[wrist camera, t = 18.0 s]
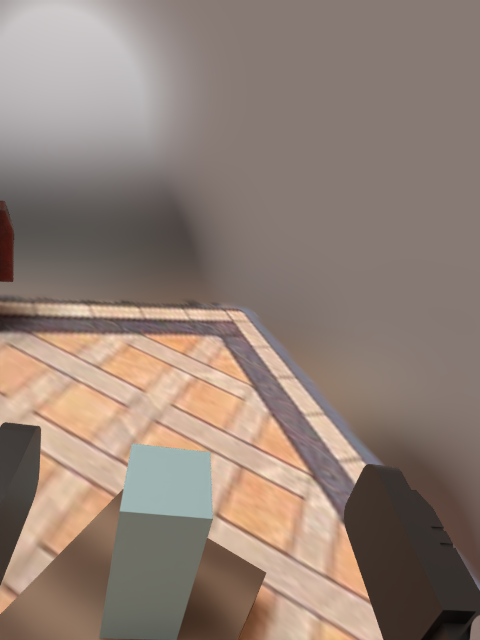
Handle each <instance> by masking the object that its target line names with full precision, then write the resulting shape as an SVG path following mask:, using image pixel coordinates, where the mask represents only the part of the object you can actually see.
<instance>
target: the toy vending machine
mask: <svg viewBox="0 0 480 640" xmlns="http://www.w3.org/2000/svg"><path fill="white" fill-rule="evenodd" d="M13 241H14V231H13V224H12V220H11V217H10V214H9V212H8V209H7V206H6V204H5V201H0V281H1V282H13V244H14V242H13Z"/></svg>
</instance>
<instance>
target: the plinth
mask: <svg viewBox="0 0 480 640" xmlns="http://www.w3.org/2000/svg"><path fill="white" fill-rule="evenodd" d="M123 490H124V489H123ZM123 490H122V491H121V492H120V493H119V494H118V495H117V496H116V497H115V498H114V499H113V500H112V501H111V502H110V503H109V504H108V505H107V506H106V507H105V508H104V509H103V510H102V511H101V512H100V513H99V514H98V515H97V516H96V517H95V518H94V519H93V520H92V521H91V522H90V524H89V525H88V526H87V527H86V528H85V529H84V530H83V531H82V532H81V533H80V534H79V535H78V536H77V537H76V538H75V539H74V540H73V541H72V542H71V543H70V544H69V545H68V546H67V547H66V548H65V549H64V550H63V551H62V552H61V553H60V554H59V555H58V556H57V557H56V558H55V559H54V560H53V561H52V562H51V563H50V564H49V565H48V566H47V567H46V568H45V569H44V571H43V572H42V573H41V574H40V575H39V576H38V577H37V578H36V579H35V580H34V581H33V582H32V583H31V584H30V585H29V586H28V587H27V588H26V589H25V590H24V591H23V592H22V593H21V594H20V595H19V596H18V597H17V598H16V599H15V600H14V601H13V602H12V603H11V604H10V605H9V606H8V607H7V608H6V609H5V610H4V611H3V612H2V613H1V614H0V640H146V639H114V638H99V636H100V629H101V623H102V617H103V611H104V605H105V598H106V592H107V586H108V580H109V574H110V567H111V561H112V555H113V549H114V542H115V536H116V530H117V524H118V518H119V511H120V506H121V500H122V495H123ZM265 575H266V572H264V571H262V570H261V569H259V568H257V567H256V566H254V565H252V564H250V563H249V562H247V561H245V560H244V559H242V558H240V557H239V556H237V555H235V554H234V553H232V552H230V551H229V550H227V549H225V548H224V547H222V546H220V545H219V544H217V543H215V542H214V541H212V540H210V539H208V538H207V540H206V543H205V547H204V550H203V553H202V557H201V560H200V563H199V567H198V570H197V573H196V577H195V580H194V583H193V587H192V590H191V593H190V597H189V600H188V603H187V607H186V610H185V613H184V617H183V620H182V623H181V627H180V630H179V633H178V637H177V640H238V638H239V636H240V634H241V631H242V629H243V627H244V624H245V622H246V620H247V618H248V615H249V613H250V611H251V608H252V606H253V604H254V601H255V599H256V597H257V594H258V592H259V589H260V587H261V584H262V582H263V580H264V577H265Z"/></svg>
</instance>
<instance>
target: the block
mask: <svg viewBox="0 0 480 640" xmlns="http://www.w3.org/2000/svg"><path fill="white" fill-rule="evenodd" d="M212 520H213V511H212V484H211V457H210V452H204V451H195V450H186V449H177V448H168V447H159V446H150V445H141V444H132V446H131V452H130V457H129V462H128V468H127V473H126V479H125V484H124V490H123V495H122V500H121V506H120V511H119V518H118V524H117V530H116V536H115V542H114V549H113V555H112V561H111V567H110V574H109V580H108V586H107V592H106V598H105V605H104V611H103V617H102V623H101V629H100V636H99V638H114V639H146V640H177V637H178V633H179V630H180V627H181V623H182V620H183V617H184V613H185V610H186V607H187V603H188V600H189V597H190V593H191V590H192V587H193V583H194V580H195V577H196V573H197V570H198V567H199V563H200V560H201V557H202V553H203V550H204V547H205V543H206V540H207V537H208V533H209V530H210V527H211V523H212Z"/></svg>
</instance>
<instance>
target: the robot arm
mask: <svg viewBox="0 0 480 640" xmlns="http://www.w3.org/2000/svg"><path fill="white" fill-rule="evenodd" d="M40 443H41V428H40V426H32V425H23V424H15V423H6V422H5V423H3V424H2V425H1V427H0V585H1V582H2V580H3V577H4V575H5V572H6V569H7V567H8V564H9V562H10V559H11V557H12V554H13V552H14V549H15V546H16V544H17V541H18V539H19V536H20V534H21V531H22V529H23V526H24V523H25V521H26V518H27V516H28V513H29V511H30V508H31V506H32V503H33V500H34V497H35V493H36V490H37V485H38V480H39V468H40ZM344 522H345V528H346V531H347V534H348V537H349V540H350V543H351V546H352V549H353V552H354V555H355V558H356V560H357V563H358V566H359V569H360V572H361V575H362V578H363V581H364V584H365V587H366V590H367V593H368V596H369V598H370V601H371V604H372V607H373V610H374V613H375V616H376V619H377V622H378V625H379V628H380V631H381V634H382V636H383V639H384V640H480V591H479V589H478V587H477V585H476V584H475V582H474V580H473V578H472V577H471V575H470V573H469V571H468V570H467V568H466V566H465V564H464V563H463V561H462V559H461V557H460V555H459V554H458V552H457V550H456V548H453V543H452V542H451V540H450V538H449V536H448V534H447V533H446V531H444V530H443V526H442V524H441V522H440V520H439V518H438V517H437V515H436V513H435V511H434V509H433V508H432V507H431V506H430V505H429V504H428V502H427V501H426V500H425V499H424V498H423V497H422V496H421V495H420V494H419V493H418V492H417V491H416V490H411V489H410V487H409V485H408V483H407V481H406V479H405V478H404V476H403V474H402V472H401V471H400V470H399V469H398V468H397V467H390V466H382V465H373V464H368V465H366V466H365V467H364V468H363V470H362V472H361V474H360V476H359V478H358V480H357V483H356V485H355V487H354V489H353V491H352V493H351V495H350V497H349V499H348V501H347V503H346V506H345V511H344Z"/></svg>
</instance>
